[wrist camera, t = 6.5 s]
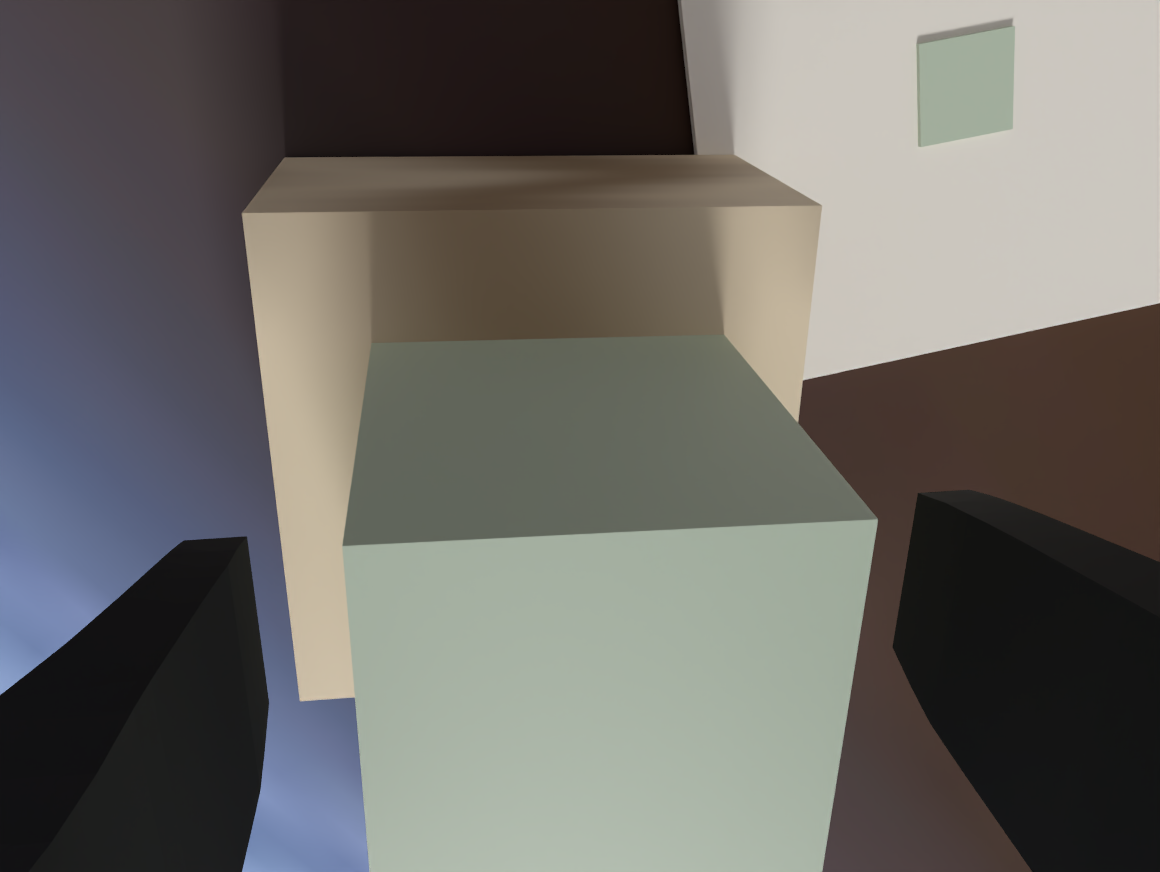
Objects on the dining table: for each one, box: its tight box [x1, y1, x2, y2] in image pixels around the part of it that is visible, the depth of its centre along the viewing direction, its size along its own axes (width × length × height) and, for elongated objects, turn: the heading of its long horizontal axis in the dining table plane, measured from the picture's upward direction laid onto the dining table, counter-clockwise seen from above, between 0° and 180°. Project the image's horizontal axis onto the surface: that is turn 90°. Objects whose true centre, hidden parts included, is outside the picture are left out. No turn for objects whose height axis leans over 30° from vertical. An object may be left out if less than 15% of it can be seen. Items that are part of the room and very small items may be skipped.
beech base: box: [242, 155, 822, 701], centre depth 16 cm, size 7×7×4 cm
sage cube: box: [342, 334, 878, 872], centre depth 12 cm, size 4×4×5 cm
